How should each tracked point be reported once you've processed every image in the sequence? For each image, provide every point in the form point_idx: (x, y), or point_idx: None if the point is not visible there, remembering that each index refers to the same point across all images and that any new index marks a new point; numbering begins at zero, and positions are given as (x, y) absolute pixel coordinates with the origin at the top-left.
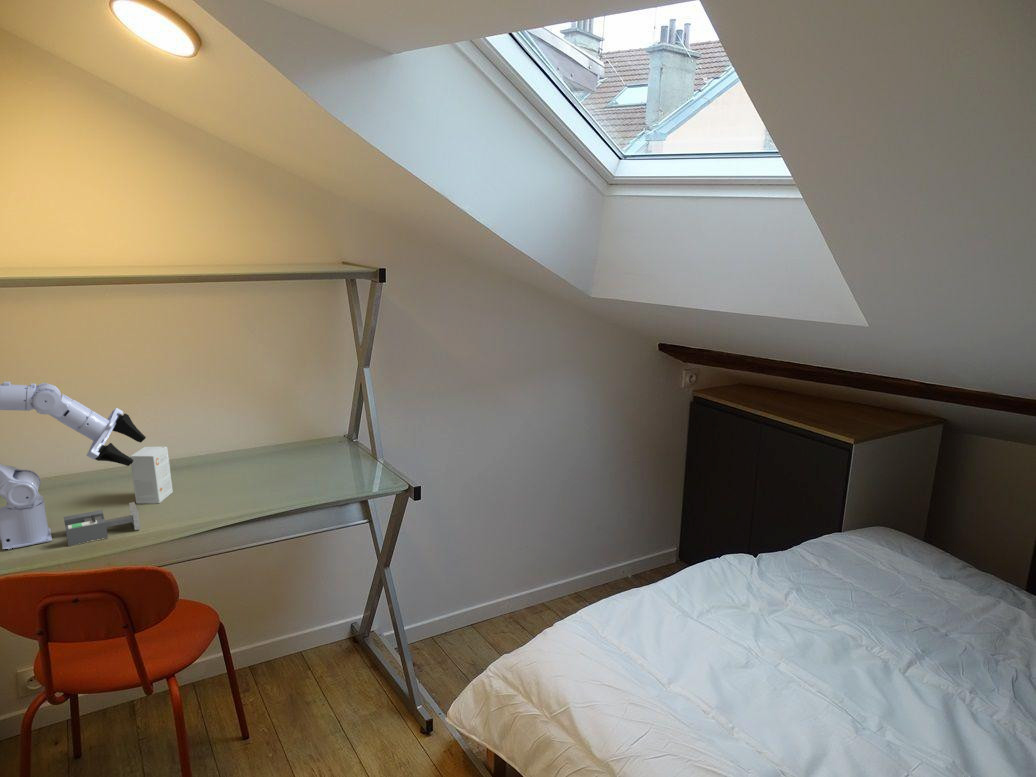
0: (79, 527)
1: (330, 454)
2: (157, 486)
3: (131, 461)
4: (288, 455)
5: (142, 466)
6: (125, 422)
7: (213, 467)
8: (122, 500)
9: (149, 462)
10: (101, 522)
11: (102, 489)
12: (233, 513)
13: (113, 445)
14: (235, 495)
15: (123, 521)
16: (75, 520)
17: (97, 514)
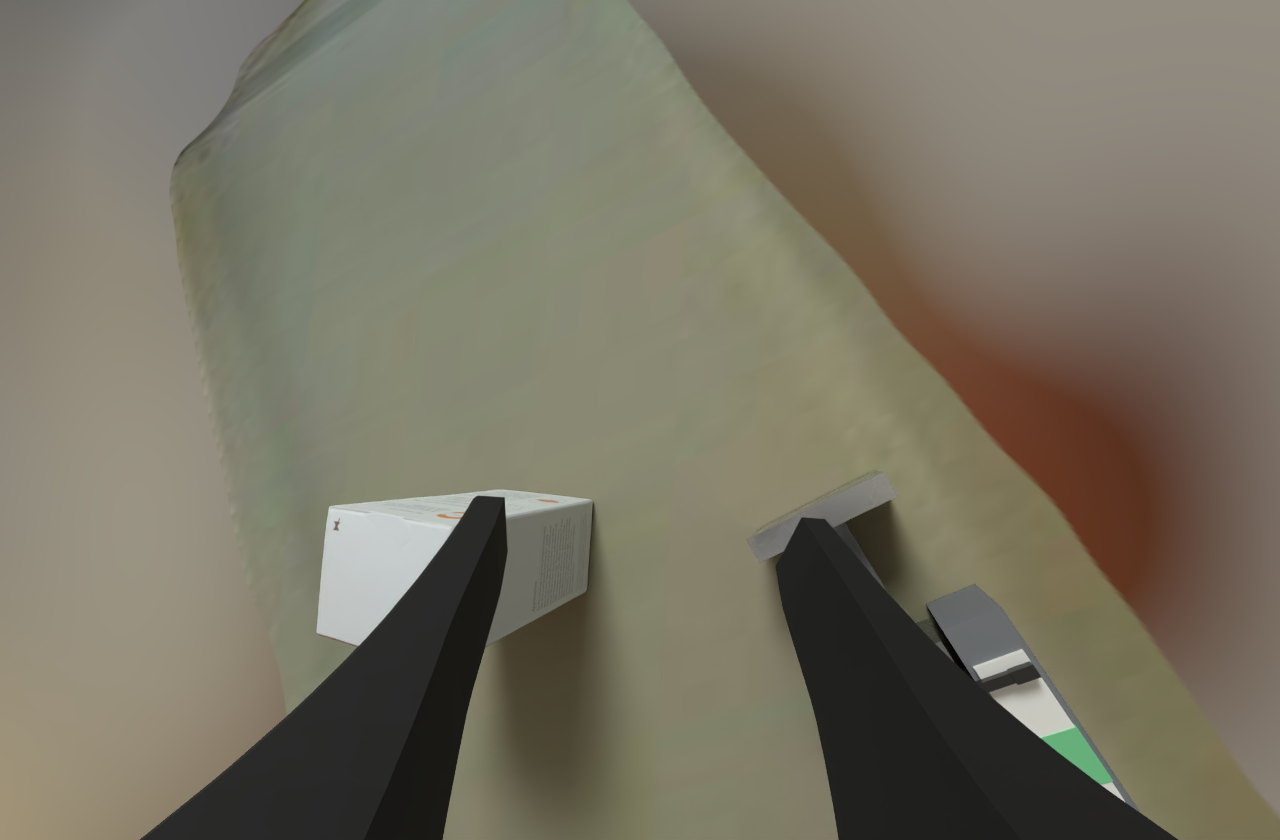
0: (1089, 737)
1: (275, 132)
2: (555, 506)
3: (831, 528)
4: (267, 249)
5: None
6: (371, 832)
7: (320, 437)
8: (554, 655)
9: None
10: (1003, 630)
11: None
12: (705, 176)
13: (993, 806)
14: (541, 255)
15: (862, 551)
16: None
17: None
